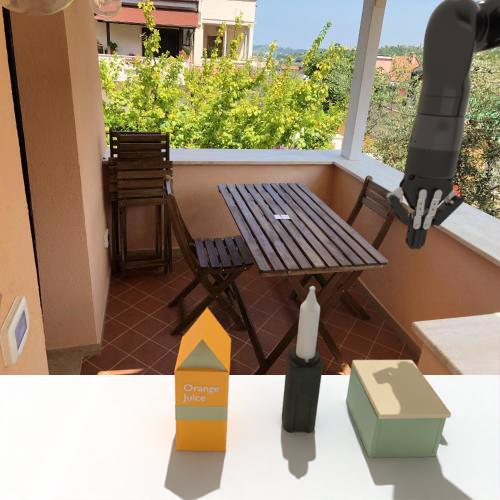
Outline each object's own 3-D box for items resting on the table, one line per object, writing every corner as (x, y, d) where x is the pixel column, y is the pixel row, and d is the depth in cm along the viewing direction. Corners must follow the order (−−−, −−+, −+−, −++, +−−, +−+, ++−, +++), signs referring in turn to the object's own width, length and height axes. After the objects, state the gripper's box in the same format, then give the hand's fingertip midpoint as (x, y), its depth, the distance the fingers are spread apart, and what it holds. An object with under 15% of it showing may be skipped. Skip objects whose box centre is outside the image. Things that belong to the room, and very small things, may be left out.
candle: (284, 432, 69) (297, 294, 59) (281, 410, 73) (293, 278, 64) (315, 433, 69) (333, 294, 60) (310, 410, 74) (326, 279, 64)
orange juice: (175, 450, 64) (172, 337, 57) (182, 408, 73) (181, 305, 65) (227, 451, 65) (231, 339, 57) (229, 410, 73) (232, 306, 65)
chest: (436, 456, 66) (446, 416, 63) (368, 458, 65) (376, 417, 62) (403, 399, 77) (411, 363, 74) (345, 400, 76) (351, 364, 74)
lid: (450, 418, 62) (451, 413, 61) (379, 419, 61) (379, 414, 61) (411, 363, 74) (411, 359, 74) (351, 363, 74) (352, 359, 73)
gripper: (403, 147, 63) (384, 255, 69) (488, 150, 64) (462, 256, 70) (384, 140, 70) (369, 239, 76) (461, 143, 71) (440, 241, 77)
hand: (413, 247), depth 73 cm, fingers closed
